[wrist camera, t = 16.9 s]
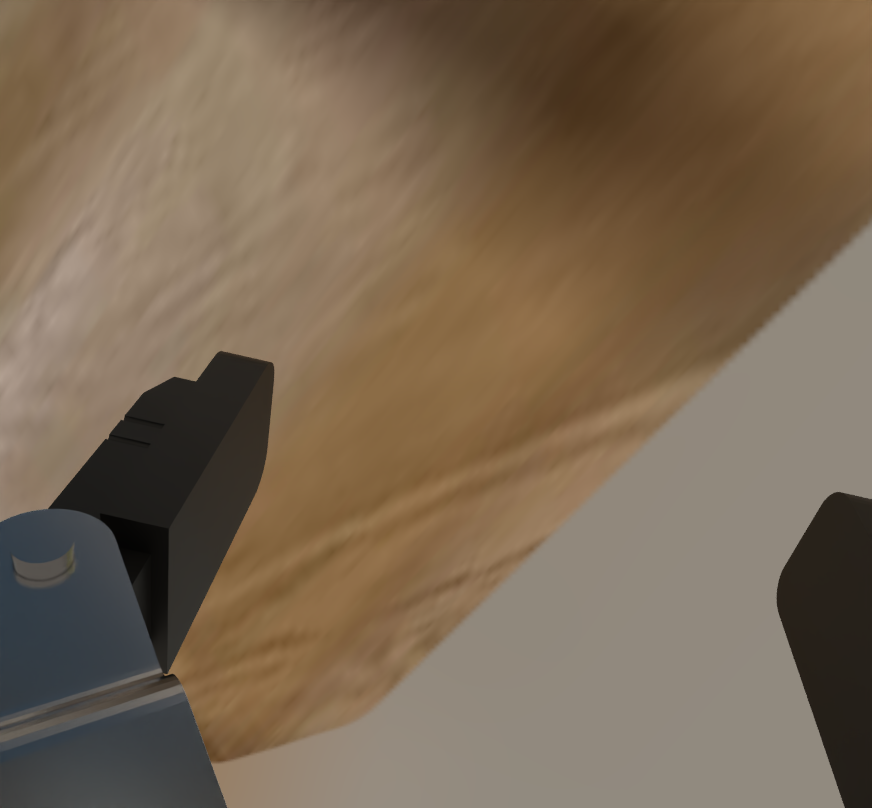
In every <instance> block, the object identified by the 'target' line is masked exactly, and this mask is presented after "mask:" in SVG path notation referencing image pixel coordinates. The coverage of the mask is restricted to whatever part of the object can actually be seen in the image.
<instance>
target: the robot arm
mask: <svg viewBox="0 0 872 808" xmlns="http://www.w3.org/2000/svg"><path fill="white" fill-rule="evenodd" d="M273 384H274V366H273V363H271V362H267V361H263V360H259V359H254V358H250V357H245V356H241V355H236V354H232V353H227V352H223V351H220V352H218V353H217V354H216V355H215V357H214V358H213V359H212V361H211V362H210V363H209V365H208V366H207V367H206V369H205V370H204V372H203V373H202V374H201V376H200V377H199V378H198V380H197V381H196V382H195V381H191V380H186V379H182V378H177V377H173V378H171V379H169V380H167V381H165V382H163V383H161V384H160V385H158V386H156V387H154V388H152V389H150V390H148V391H146V392H144V393H143V394H142V395H141V397H140V398H139V399H138V400H137V401H136V403H135V404H134V405H133V406H132V407H131V409H130V410H129V411H128V412H127V414H126V415H125V418H124V421H123V420H121V421H120V422H119V423H118V424H117V426H116V427H115V428H114V429H113V430H112V432H111V433H110V434H109V439H108V440H107V439H105V440H104V441H103V443H102V444H101V445H100V446H99V447H98V449H97V450H96V451H95V452H94V454H93V455H92V456H91V457H90V458H89V460H88V461H87V462H86V463H85V464H84V466H83V467H82V468H81V469H80V471H79V472H78V473H77V474H76V475H75V477H74V478H73V479H72V480H71V481H70V483H69V484H68V485H67V486H66V488H65V489H64V490H63V491H62V492H61V494H60V495H59V496H58V497H57V498H56V500H55V501H54V502H53V503H52V505H51V506H50V507H49V508H48V509H43V510H36V511H30V512H26V513H22V514H19V515H16V516H13V517H10V518H8V519H6V520H4V521H2V522H0V808H227V806H226V803H225V800H224V797H223V795H222V792H221V789H220V786H219V784H218V781H217V778H216V775H215V773H214V770H213V767H212V764H211V762H210V759H209V756H208V754H207V751H206V748H205V745H204V743H203V740H202V737H201V734H200V732H199V729H198V726H197V723H196V721H195V718H194V715H193V712H192V710H191V707H190V704H189V701H188V699H187V696H186V694H185V691H184V689H183V687H182V685H181V683H180V681H179V680H178V678H177V677H176V676H175V675H174V674H171V675H167V676H164V674H163V673H165V674H168V672H169V669H170V667H171V665H172V663H173V661H174V659H175V657H176V655H177V653H178V651H179V649H180V647H181V645H182V643H183V641H184V639H185V637H186V635H187V633H188V631H189V629H190V627H191V624H192V622H193V620H194V618H195V616H196V614H197V612H198V610H199V608H200V606H201V604H202V602H203V600H204V598H205V596H206V594H207V592H208V590H209V588H210V586H211V584H212V582H213V579H214V577H215V575H216V573H217V571H218V569H219V567H220V565H221V563H222V561H223V559H224V557H225V555H226V553H227V551H228V549H229V547H230V545H231V543H232V541H233V539H234V537H235V534H236V532H237V530H238V528H239V526H240V524H241V522H242V520H243V518H244V516H245V514H246V512H247V510H248V508H249V506H250V504H251V502H252V500H253V498H254V496H255V493H256V491H257V489H258V486H259V483H260V480H261V477H262V473H263V470H264V465H265V460H266V455H267V447H268V436H269V426H270V415H271V405H272V394H273ZM777 607H778V612H779V615H780V618H781V621H782V624H783V627H784V630H785V633H786V636H787V639H788V642H789V645H790V648H791V651H792V654H793V656H794V659H795V662H796V665H797V668H798V671H799V674H800V677H801V680H802V683H803V686H804V689H805V692H806V694H807V698H808V701H809V704H810V706H811V709H812V712H813V715H814V718H815V721H816V724H817V727H818V730H819V733H820V736H821V738H822V742H823V745H824V748H825V750H826V754H827V756H828V759H829V762H830V765H831V768H832V771H833V774H834V777H835V780H836V783H837V786H838V789H839V792H840V795H841V798H842V801H843V803H844V806H845V808H872V499H868V498H863V497H859V496H855V495H850V494H845V493H841V492H836V493H833V494H831V495H830V496H829V497H828V498H827V499H826V500H825V501H824V502H823V504H822V505H821V507H820V508H819V510H818V512H817V513H816V515H815V517H814V518H813V520H812V522H811V523H810V525H809V527H808V528H807V530H806V532H805V533H804V535H803V537H802V538H801V540H800V542H799V543H798V545H797V547H796V548H795V550H794V552H793V553H792V555H791V557H790V558H789V560H788V562H787V563H786V565H785V567H784V569H783V570H782V573H781V576H780V579H779V583H778V588H777Z"/></svg>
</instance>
